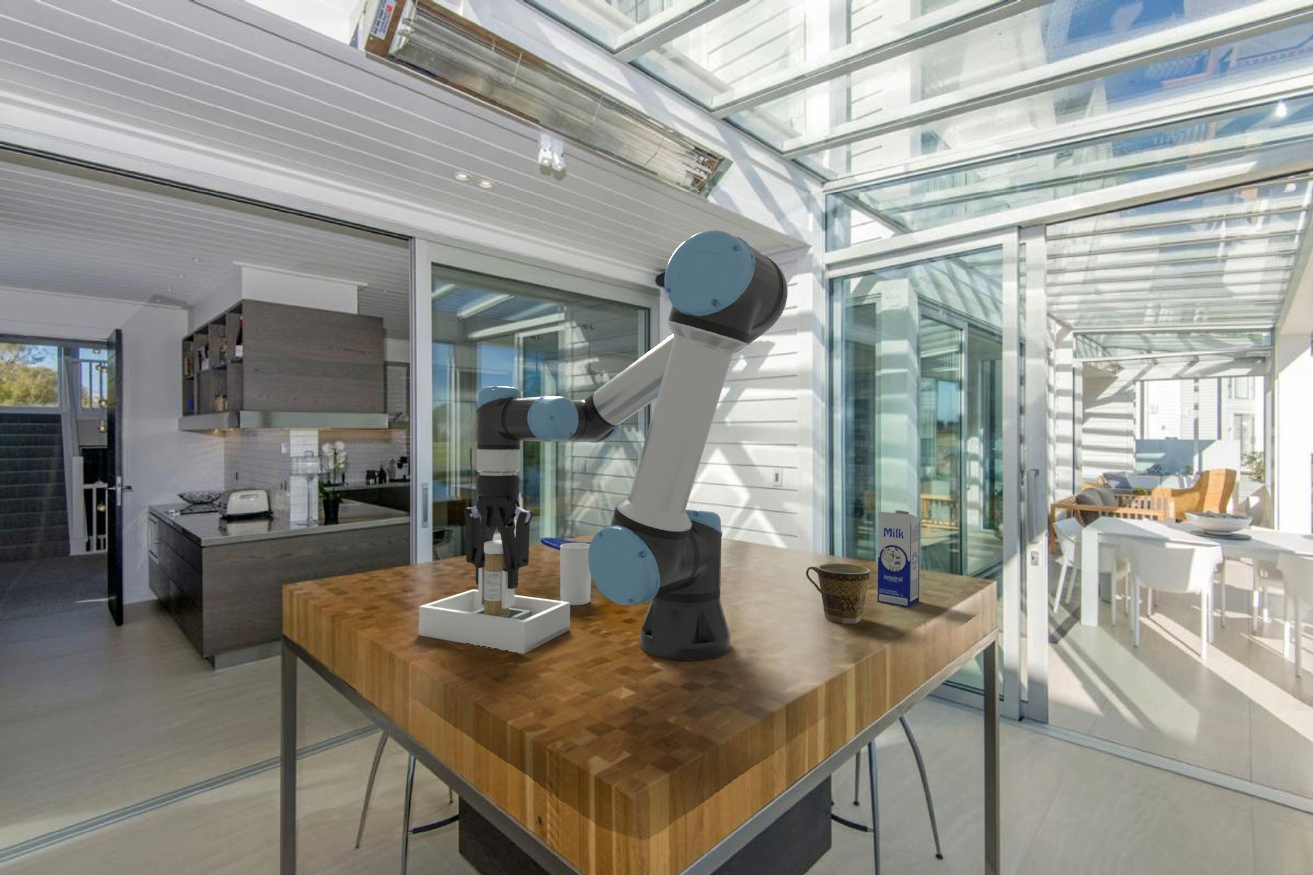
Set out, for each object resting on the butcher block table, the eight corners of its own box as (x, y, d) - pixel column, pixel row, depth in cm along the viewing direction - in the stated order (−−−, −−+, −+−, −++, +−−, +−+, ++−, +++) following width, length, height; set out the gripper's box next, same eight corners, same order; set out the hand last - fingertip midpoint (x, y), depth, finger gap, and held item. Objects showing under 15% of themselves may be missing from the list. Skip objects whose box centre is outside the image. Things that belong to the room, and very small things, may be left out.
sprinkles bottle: (499, 612, 113) (500, 538, 113) (514, 616, 110) (515, 541, 110) (477, 617, 109) (478, 541, 109) (492, 622, 106) (494, 544, 106)
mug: (590, 605, 128) (591, 548, 128) (558, 606, 128) (558, 548, 128) (592, 593, 138) (592, 540, 138) (561, 594, 138) (562, 540, 138)
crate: (569, 629, 112) (569, 602, 112) (523, 653, 99) (524, 622, 99) (472, 614, 120) (472, 589, 120) (418, 635, 107) (419, 606, 107)
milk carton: (876, 601, 135) (877, 510, 135) (887, 596, 140) (888, 508, 140) (909, 607, 130) (910, 513, 130) (919, 601, 135) (920, 510, 136)
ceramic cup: (877, 618, 122) (878, 568, 122) (856, 629, 114) (857, 575, 114) (817, 606, 130) (817, 559, 130) (793, 616, 123) (794, 565, 123)
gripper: (551, 474, 110) (549, 605, 109) (473, 471, 117) (471, 594, 116) (526, 476, 103) (524, 616, 103) (445, 473, 110) (442, 604, 109)
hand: (496, 604), depth 109 cm, fingers closed on sprinkles bottle, 4 cm apart
